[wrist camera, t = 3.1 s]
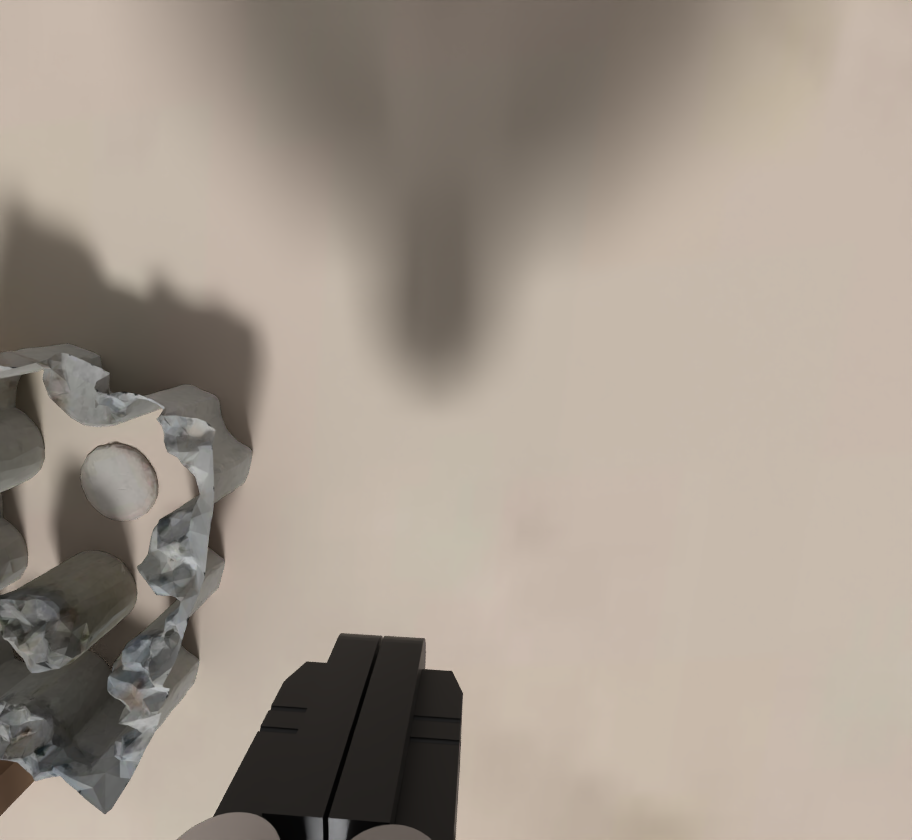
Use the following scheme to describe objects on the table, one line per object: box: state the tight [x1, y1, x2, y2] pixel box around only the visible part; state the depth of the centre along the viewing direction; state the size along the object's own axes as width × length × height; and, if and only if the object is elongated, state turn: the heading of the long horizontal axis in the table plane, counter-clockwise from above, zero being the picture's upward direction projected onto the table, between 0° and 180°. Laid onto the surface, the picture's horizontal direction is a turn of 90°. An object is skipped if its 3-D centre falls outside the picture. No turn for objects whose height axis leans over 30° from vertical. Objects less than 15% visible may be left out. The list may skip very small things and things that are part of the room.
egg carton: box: [0, 343, 252, 814], centre depth 14 cm, size 11×8×4 cm
